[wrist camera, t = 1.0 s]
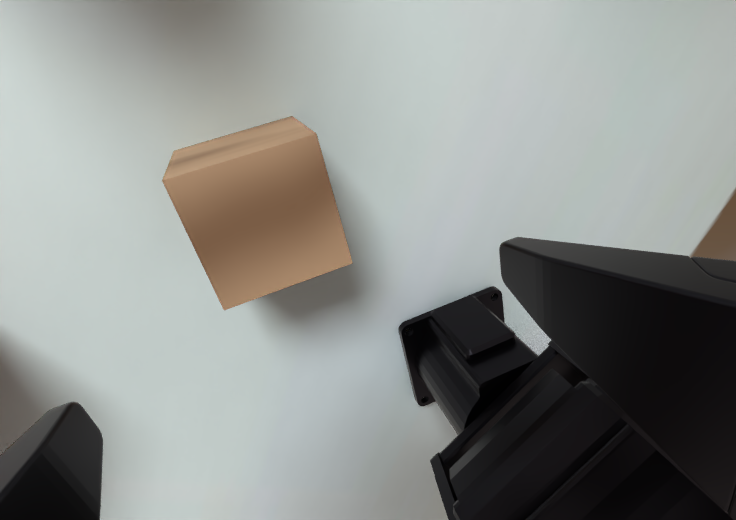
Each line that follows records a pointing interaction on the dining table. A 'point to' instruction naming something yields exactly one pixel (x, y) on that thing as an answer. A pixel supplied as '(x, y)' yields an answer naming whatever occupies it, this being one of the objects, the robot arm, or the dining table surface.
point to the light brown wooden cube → (258, 209)
